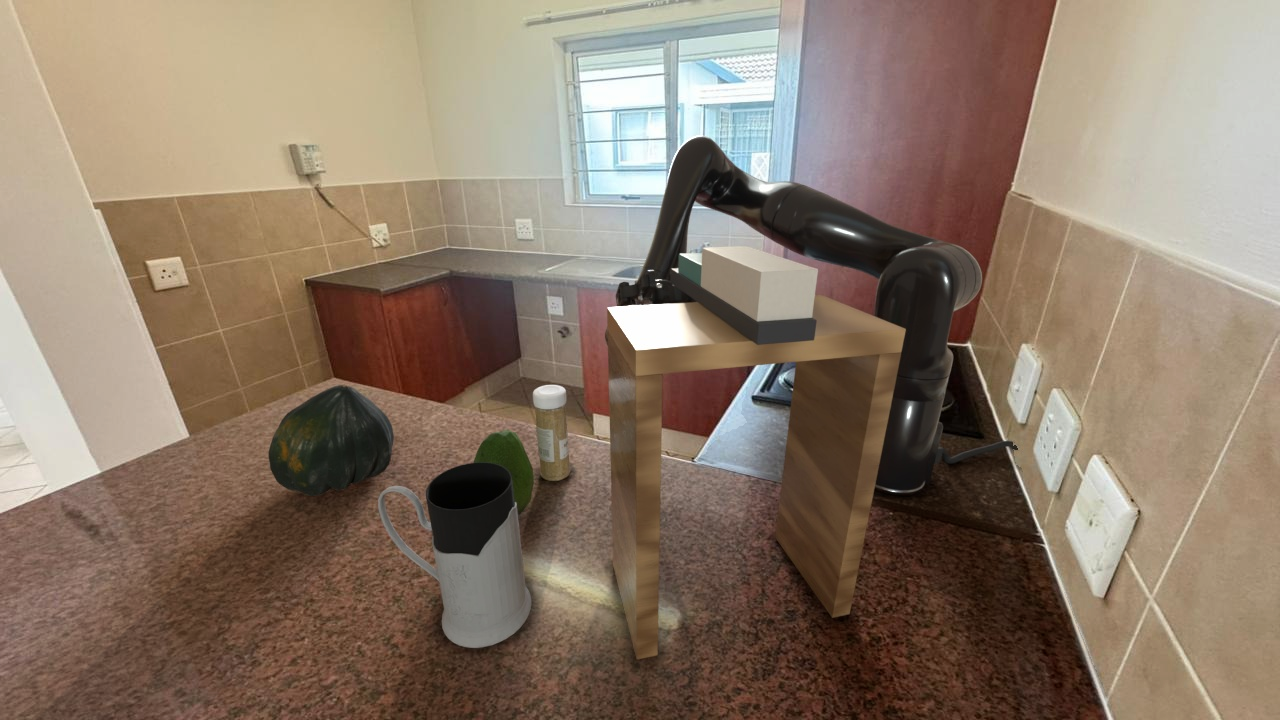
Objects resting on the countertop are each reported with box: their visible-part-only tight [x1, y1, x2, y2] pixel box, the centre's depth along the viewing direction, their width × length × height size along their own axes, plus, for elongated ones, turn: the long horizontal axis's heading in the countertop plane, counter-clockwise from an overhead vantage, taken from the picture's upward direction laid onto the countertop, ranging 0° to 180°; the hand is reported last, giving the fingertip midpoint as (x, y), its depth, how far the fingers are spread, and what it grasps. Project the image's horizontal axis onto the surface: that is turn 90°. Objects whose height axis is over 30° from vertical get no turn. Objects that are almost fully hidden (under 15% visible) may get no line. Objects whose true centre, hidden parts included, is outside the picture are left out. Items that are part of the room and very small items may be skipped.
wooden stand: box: [606, 294, 906, 660], centre depth 48 cm, size 22×12×30 cm, turn 103°
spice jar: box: [532, 384, 572, 482], centre depth 71 cm, size 5×5×13 cm
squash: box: [268, 384, 395, 497], centre depth 70 cm, size 14×15×15 cm
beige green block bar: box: [670, 245, 819, 345], centre depth 45 cm, size 5×22×5 cm, turn 13°
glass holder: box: [377, 462, 533, 649], centre depth 49 cm, size 9×14×15 cm, turn 80°
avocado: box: [472, 429, 535, 516], centre depth 63 cm, size 8×8×12 cm
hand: (689, 276), depth 56 cm, fingers open, 8 cm apart
